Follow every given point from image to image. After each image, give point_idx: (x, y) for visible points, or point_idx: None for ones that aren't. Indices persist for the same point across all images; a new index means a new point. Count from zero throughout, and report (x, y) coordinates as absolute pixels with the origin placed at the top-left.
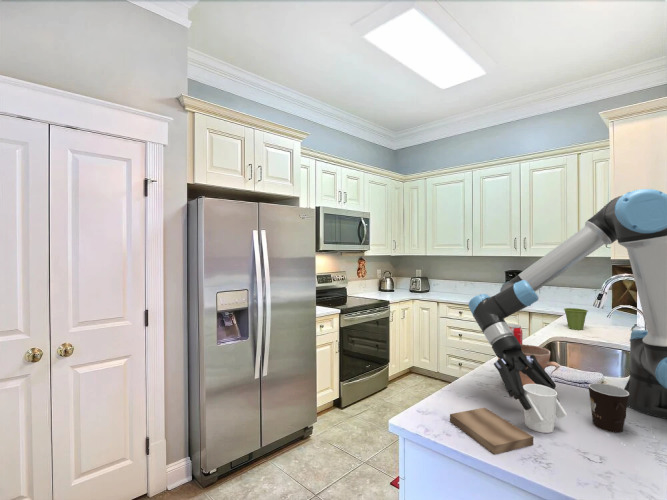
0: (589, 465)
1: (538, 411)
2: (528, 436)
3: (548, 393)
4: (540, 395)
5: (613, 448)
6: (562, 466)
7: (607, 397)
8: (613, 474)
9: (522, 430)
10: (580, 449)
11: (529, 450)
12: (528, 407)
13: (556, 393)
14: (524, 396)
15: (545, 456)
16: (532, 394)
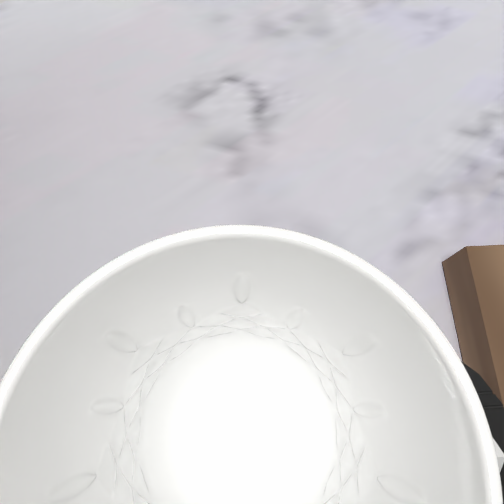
0: (303, 77)
1: None
2: (496, 256)
3: (39, 484)
4: (398, 287)
5: (48, 128)
6: (428, 102)
7: None
8: (263, 19)
9: (487, 326)
10: (223, 166)
11: (496, 230)
12: (465, 364)
13: (110, 267)
14: (501, 471)
15: (450, 171)
16: (460, 380)
